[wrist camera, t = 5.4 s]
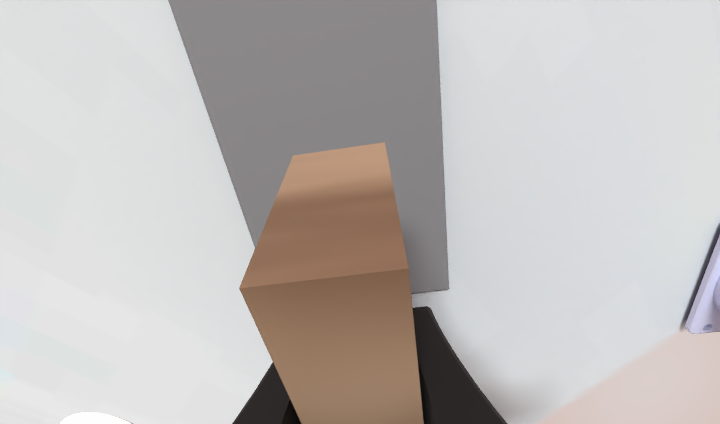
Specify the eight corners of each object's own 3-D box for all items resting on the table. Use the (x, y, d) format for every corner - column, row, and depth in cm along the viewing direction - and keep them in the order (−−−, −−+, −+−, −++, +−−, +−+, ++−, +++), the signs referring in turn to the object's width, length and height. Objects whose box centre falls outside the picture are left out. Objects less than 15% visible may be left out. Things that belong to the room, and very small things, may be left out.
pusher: (213, 166, 9) (97, 304, 5) (470, 129, 9) (571, 249, 5) (315, 415, 16) (300, 562, 12) (464, 402, 16) (504, 551, 12)
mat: (429, -98, 12) (431, -102, 12) (447, 284, 20) (448, 289, 19) (158, -44, 13) (152, -46, 12) (277, 304, 20) (276, 308, 20)
